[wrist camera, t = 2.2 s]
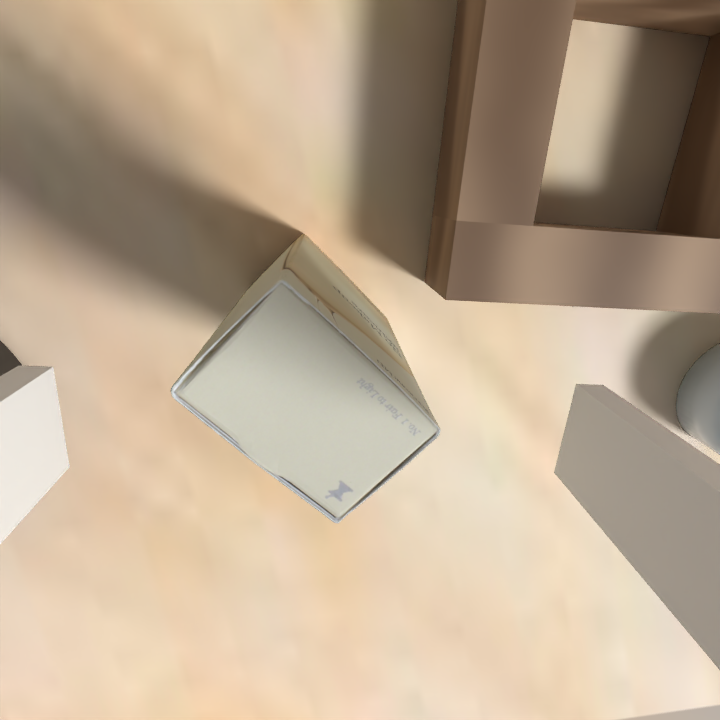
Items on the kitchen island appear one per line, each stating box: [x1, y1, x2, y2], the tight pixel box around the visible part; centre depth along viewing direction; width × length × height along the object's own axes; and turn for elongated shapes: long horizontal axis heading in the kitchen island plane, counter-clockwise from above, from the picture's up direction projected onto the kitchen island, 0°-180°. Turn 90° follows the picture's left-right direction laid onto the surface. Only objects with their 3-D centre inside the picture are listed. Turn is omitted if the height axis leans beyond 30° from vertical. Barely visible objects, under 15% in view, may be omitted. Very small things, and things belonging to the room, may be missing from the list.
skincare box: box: [171, 234, 440, 523], centre depth 18 cm, size 6×4×12 cm
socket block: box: [425, 0, 720, 313], centre depth 20 cm, size 15×15×4 cm
